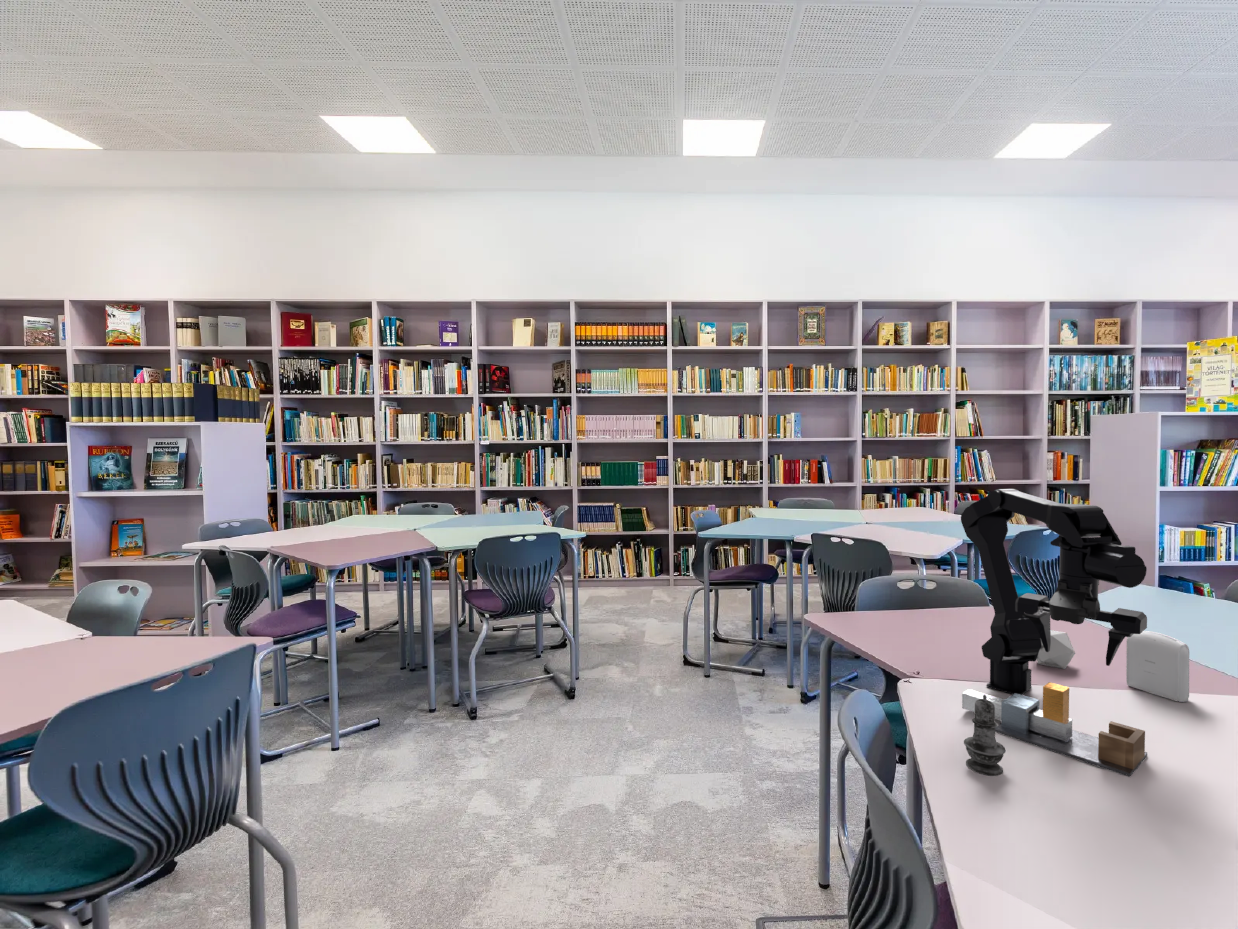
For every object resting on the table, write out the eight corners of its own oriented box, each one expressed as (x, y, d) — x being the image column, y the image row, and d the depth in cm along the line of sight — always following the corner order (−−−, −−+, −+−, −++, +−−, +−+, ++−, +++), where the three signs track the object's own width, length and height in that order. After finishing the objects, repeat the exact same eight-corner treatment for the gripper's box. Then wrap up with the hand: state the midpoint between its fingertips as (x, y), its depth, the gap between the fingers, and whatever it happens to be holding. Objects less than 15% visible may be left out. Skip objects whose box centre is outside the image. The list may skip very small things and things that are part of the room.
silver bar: (962, 708, 120) (962, 665, 119) (969, 704, 121) (969, 661, 121) (1065, 741, 106) (1066, 692, 106) (1072, 736, 108) (1072, 688, 108)
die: (1024, 659, 149) (1020, 634, 144) (1052, 640, 149) (1049, 614, 145) (1055, 683, 142) (1052, 657, 137) (1085, 663, 142) (1083, 636, 138)
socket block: (1098, 758, 101) (1098, 733, 101) (1110, 745, 105) (1111, 721, 105) (1133, 769, 98) (1133, 743, 97) (1144, 756, 102) (1145, 730, 101)
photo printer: (1121, 685, 131) (1122, 627, 131) (1135, 682, 133) (1136, 625, 132) (1179, 704, 121) (1181, 642, 121) (1193, 701, 123) (1194, 639, 122)
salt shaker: (1000, 760, 102) (1001, 689, 102) (1010, 779, 97) (1010, 704, 96) (960, 755, 104) (960, 685, 103) (967, 773, 98) (967, 699, 98)
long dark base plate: (993, 731, 112) (994, 704, 112) (1015, 715, 118) (1016, 689, 118) (1129, 777, 97) (1130, 745, 96) (1147, 756, 103) (1147, 726, 102)
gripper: (1004, 572, 115) (1003, 655, 116) (1133, 591, 100) (1130, 685, 101) (1026, 563, 122) (1024, 641, 123) (1148, 580, 107) (1146, 668, 108)
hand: (1076, 658), depth 114 cm, fingers open, 9 cm apart
